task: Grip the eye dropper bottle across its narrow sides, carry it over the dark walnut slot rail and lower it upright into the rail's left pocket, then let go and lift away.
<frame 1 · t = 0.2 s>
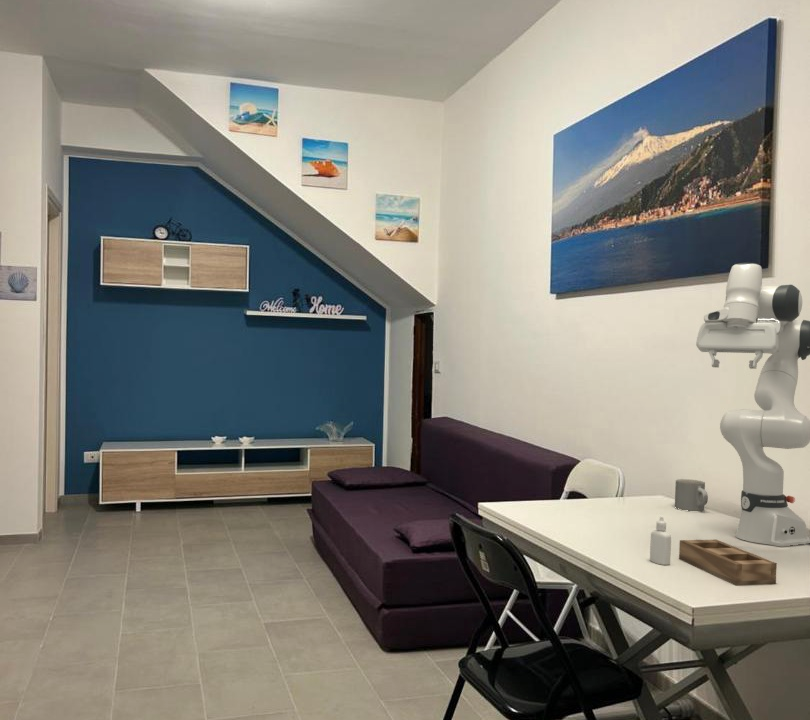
hand: (733, 367, 208), 52 cm above the table, tool tilted 20°, fingers open, 8 cm apart
coffee mug: (691, 510, 282), on the table
walnut slot rail: (724, 570, 200), on the table
eye dropper bottle: (659, 563, 206), on the table
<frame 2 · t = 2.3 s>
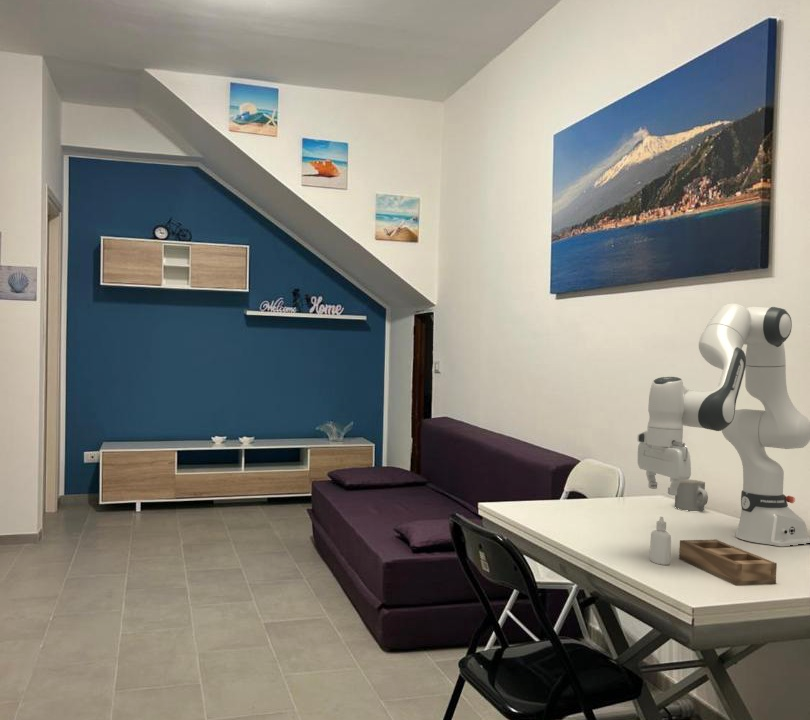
hand: (662, 491, 206), 19 cm above the table, tool pointing down, fingers open, 8 cm apart
nothing on the table moved.
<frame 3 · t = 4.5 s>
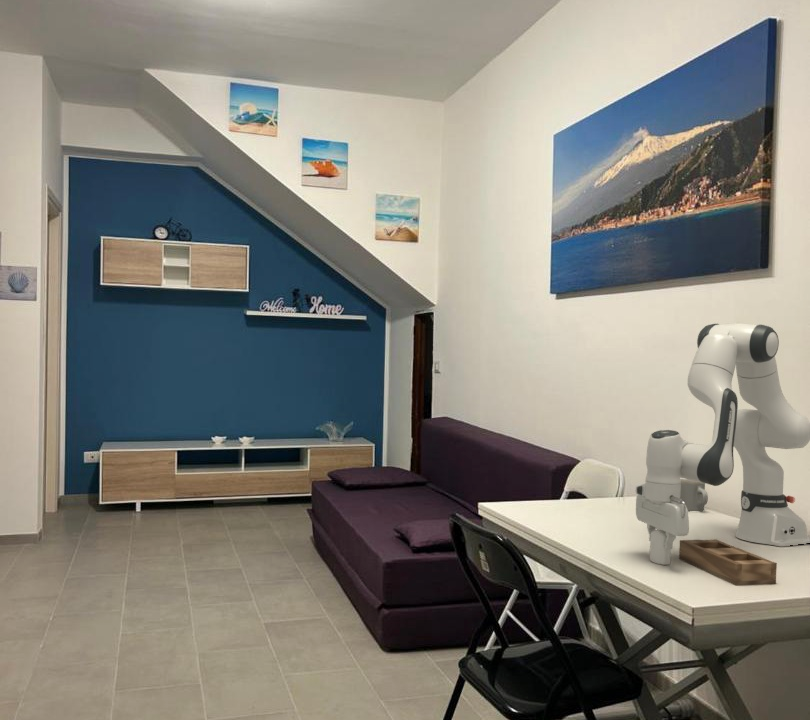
hand: (660, 545, 206), 5 cm above the table, tool pointing down, fingers closed on eye dropper bottle, 6 cm apart
eye dropper bottle: (659, 563, 206), on the table, touching gripper
everything else where it was.
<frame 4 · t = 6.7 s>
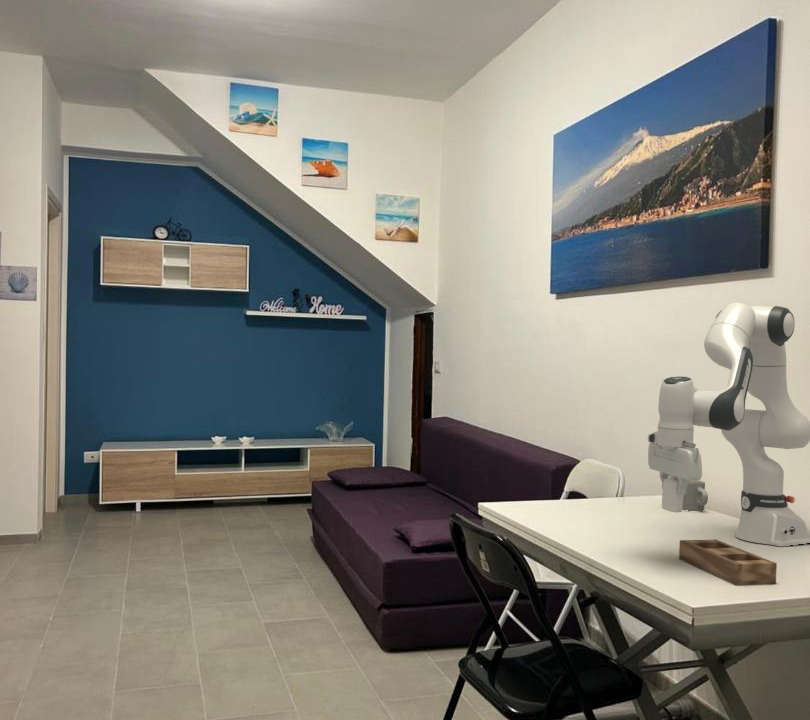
hand: (673, 492, 205), 19 cm above the table, tool pointing down, fingers closed on eye dropper bottle, 6 cm apart
eye dropper bottle: (671, 511, 205), point 14 cm above the table, touching gripper
everything else where it was.
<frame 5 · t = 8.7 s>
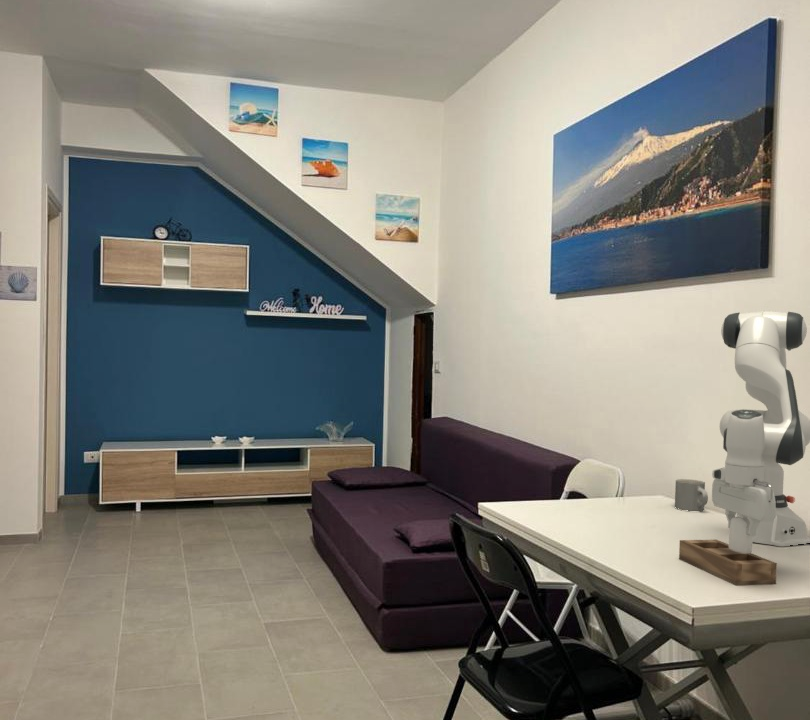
hand: (741, 532, 194), 11 cm above the table, tool pointing down, fingers closed on eye dropper bottle, 6 cm apart
eye dropper bottle: (739, 552, 195), point 6 cm above the table, touching gripper
everything else where it was.
when the fingers open (8 cm above the table, at t = 10.4 s): eye dropper bottle stays where it is, resting on walnut slot rail.
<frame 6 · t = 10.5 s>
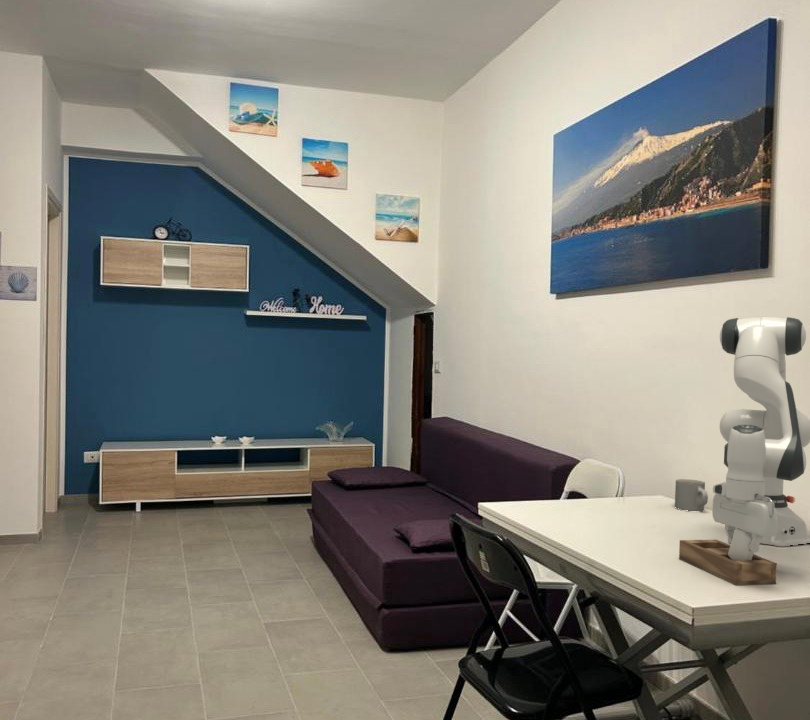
hand: (742, 547, 193), 8 cm above the table, tool pointing down, fingers open, 6 cm apart
eye dropper bottle: (738, 561, 195), point 4 cm above the table, touching gripper, walnut slot rail
everything else where it was.
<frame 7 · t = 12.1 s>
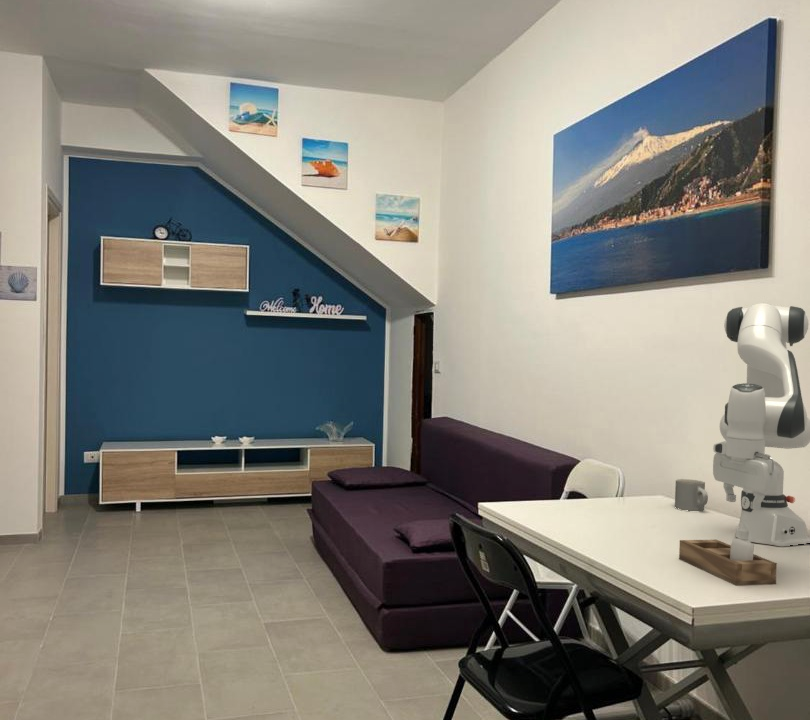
hand: (742, 505, 194), 18 cm above the table, tool pointing down, fingers open, 8 cm apart
eye dropper bottle: (739, 573, 194), point 1 cm above the table, touching walnut slot rail
everything else where it was.
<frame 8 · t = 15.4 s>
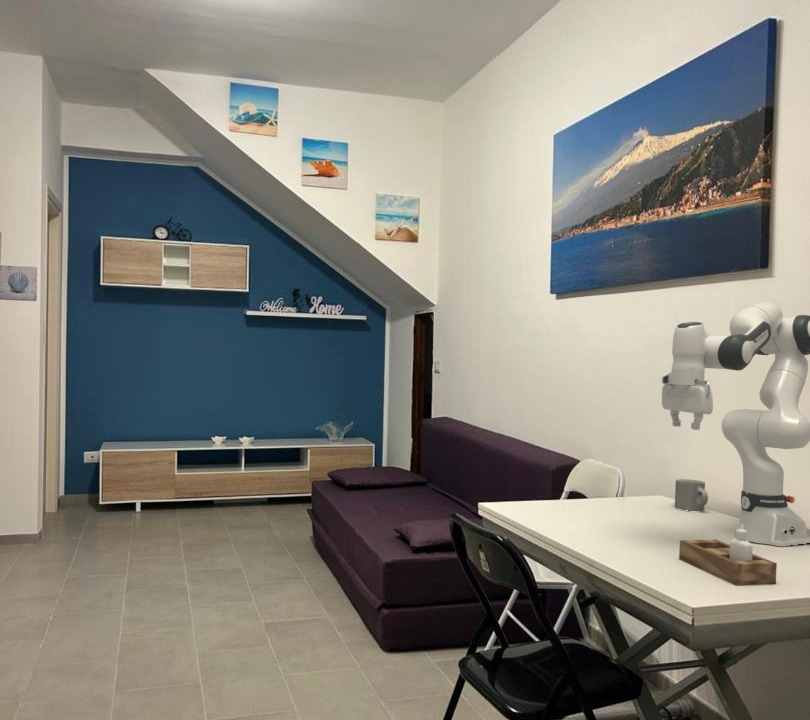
hand: (685, 427, 223), 34 cm above the table, tool pointing down, fingers open, 8 cm apart
nothing on the table moved.
at the end: eye dropper bottle 0.1 cm from the target spot on the walnut slot rail, point 0.8 cm above the walnut slot rail's base; eye dropper bottle tilted 0°; the gripper is holding nothing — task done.
